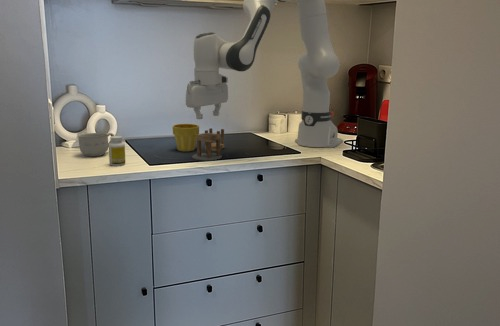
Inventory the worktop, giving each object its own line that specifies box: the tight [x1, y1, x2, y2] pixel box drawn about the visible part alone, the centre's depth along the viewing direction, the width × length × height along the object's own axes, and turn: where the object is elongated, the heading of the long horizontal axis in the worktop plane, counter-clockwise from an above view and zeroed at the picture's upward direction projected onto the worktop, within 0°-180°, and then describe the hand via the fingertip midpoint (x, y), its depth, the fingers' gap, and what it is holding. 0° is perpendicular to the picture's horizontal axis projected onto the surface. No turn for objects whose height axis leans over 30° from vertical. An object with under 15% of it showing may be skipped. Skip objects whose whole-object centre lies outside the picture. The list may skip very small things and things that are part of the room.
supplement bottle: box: [108, 135, 126, 167], centre depth 174 cm, size 5×5×10 cm
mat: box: [191, 152, 223, 162], centre depth 187 cm, size 11×11×1 cm
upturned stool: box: [204, 127, 225, 152], centre depth 201 cm, size 6×6×8 cm
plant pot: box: [172, 123, 200, 152], centre depth 199 cm, size 10×10×10 cm
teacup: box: [77, 132, 115, 157], centre depth 189 cm, size 14×11×8 cm
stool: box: [196, 132, 221, 158], centre depth 187 cm, size 6×6×8 cm
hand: (207, 117), depth 184 cm, fingers open, 8 cm apart
